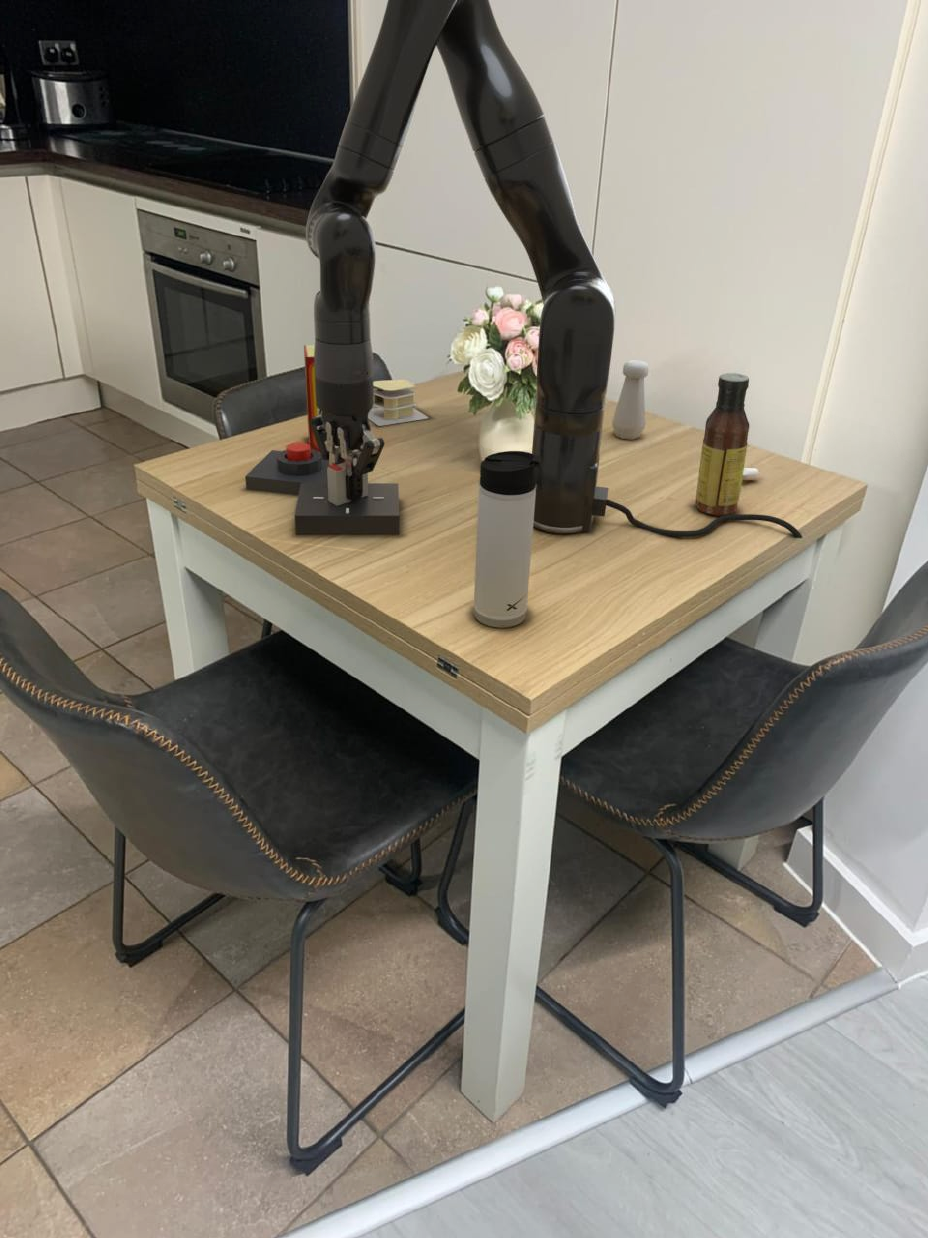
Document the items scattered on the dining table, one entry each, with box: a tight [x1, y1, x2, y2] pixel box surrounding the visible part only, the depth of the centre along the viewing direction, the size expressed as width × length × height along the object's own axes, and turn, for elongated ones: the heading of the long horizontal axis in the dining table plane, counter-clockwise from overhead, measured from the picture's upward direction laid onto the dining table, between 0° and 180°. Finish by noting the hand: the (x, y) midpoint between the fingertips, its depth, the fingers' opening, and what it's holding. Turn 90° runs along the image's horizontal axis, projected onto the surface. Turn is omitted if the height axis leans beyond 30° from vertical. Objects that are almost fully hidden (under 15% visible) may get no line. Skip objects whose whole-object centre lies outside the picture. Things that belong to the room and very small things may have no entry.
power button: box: [285, 442, 311, 461], centre depth 142 cm, size 4×4×2 cm
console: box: [294, 482, 400, 536], centre depth 133 cm, size 14×11×3 cm
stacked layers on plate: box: [368, 379, 429, 427], centre depth 170 cm, size 10×9×6 cm
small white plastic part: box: [742, 466, 760, 481], centre depth 149 cm, size 4×6×3 cm, turn 89°
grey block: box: [327, 459, 369, 506], centre depth 131 cm, size 6×2×5 cm, turn 134°
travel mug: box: [473, 450, 541, 629], centre depth 107 cm, size 6×7×20 cm
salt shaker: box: [611, 359, 650, 441], centre depth 163 cm, size 6×6×13 cm
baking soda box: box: [303, 344, 356, 453], centre depth 154 cm, size 10×6×16 cm
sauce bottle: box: [695, 372, 750, 517], centre depth 136 cm, size 6×6×20 cm
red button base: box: [244, 449, 330, 496], centre depth 143 cm, size 13×11×4 cm
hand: (348, 494), depth 132 cm, fingers closed on grey block, 2 cm apart
